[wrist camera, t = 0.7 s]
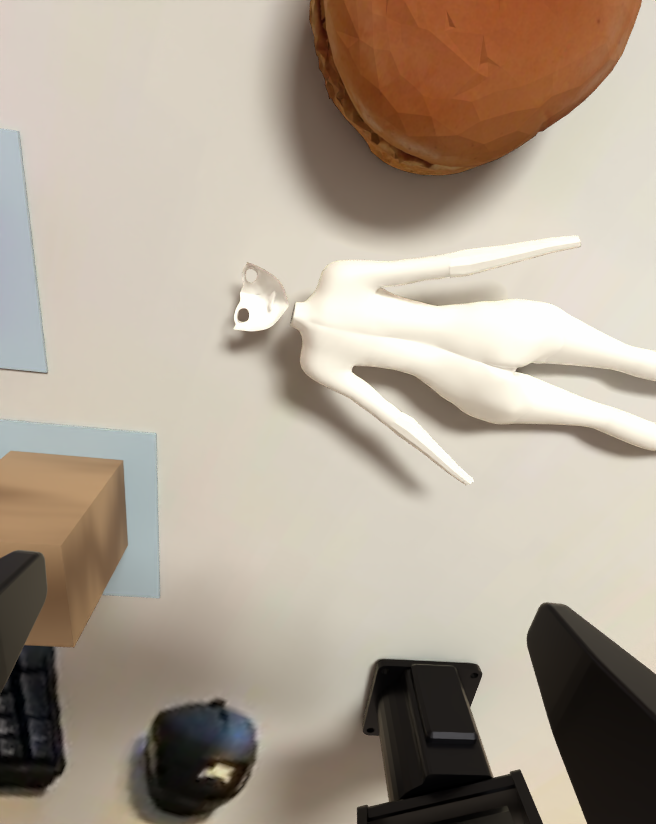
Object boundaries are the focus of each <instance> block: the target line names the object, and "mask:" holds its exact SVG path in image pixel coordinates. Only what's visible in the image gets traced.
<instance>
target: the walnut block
mask: <svg viewBox="0 0 656 824" xmlns="http://www.w3.org/2000/svg"><path fill="white" fill-rule="evenodd" d="M127 546H128V535H127V518H126V500H125V482H124V464H123V460H115V459H103V458H91V457H80V456H68V455H56V454H44V453H32V452H21V451H10V452H8V453H7V454H6V455H5V456H4V457H2V458H1V459H0V558H1V557H3V556H5V555H7V554H9V553H11V552H13V551H16V550H26V551H36V552H40V553H42V554H43V555H44V558H45V565H46V577H47V596H46V600H45V603H44V605H43V607H42V609H41V611H40V613H39V615H38V617H37V619H36V622H35V624H34V626H33V628H32V630H31V632H30V634H29V636H28V638H27V640H26V642H25V644H24V645H35V646H55V647H74V646H75V645H76V643H77V641H78V639H79V637H80V635H81V633H82V631H83V629H84V628H85V626H86V624H87V622H88V620H89V618H90V616H91V614H92V612H93V611H94V609H95V607H96V605H97V603H98V601H99V599H100V597H101V595H102V594H103V592H104V590H105V588H106V586H107V584H108V582H109V580H110V578H111V577H112V575H113V573H114V571H115V569H116V567H117V565H118V563H119V561H120V560H121V558H122V556H123V554H124V552H125V550H126V548H127Z"/></svg>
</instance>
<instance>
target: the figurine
mask: <svg viewBox="0 0 656 824" xmlns="http://www.w3.org/2000/svg"><path fill="white" fill-rule="evenodd" d="M580 246H581V243H580V238H579V237H578V236H577V235H576V236H565V237H555V238H546V239H540V240H534V241H527V242H521V243H515V244H509V245H502V246H493V247H484V248H475V249H466V250H462V251H458V252H453V253H449V254H443V255H435V256H428V257H421V258H412V259H403V260H397V261H391V262H390V261H369V260H341V261H335V262H332V263H330V264H328V265H327V266H326V267H325V268H324V270H323V271H322V274H321V276H320V279H319V282H318V286H317V288H316V290H315V292H314V293H313V294H312V295H311V296H310V297H309V298H308V299H307V300H306V301H305V302H295V305H294V309H293V313H292V318H291V323H290V326H292V327H294V328H296V329H297V330H299V331H300V334H301V337H302V342H303V344H302V350H301V355H300V364H301V368H302V369H303V371H304V372H305V373H306V375H307V376H309V377H310V378H312V379H313V380H314V381H316V382H318V383H320V384H322V385H323V386H325V387H327V388H329V389H332V390H334V391H336V392H338V393H340V394H342V395H344V396H346V397H348V398H350V399H351V400H353V401H354V402H355V403H357V404H358V405H359V406H361V407H362V408H363V409H365V410H366V411H368V412H369V413H371V414H372V415H373V416H374V417H376V418H377V419H378V420H379V421H381V422H382V423H383V424H385V425H386V426H387V427H389V428H390V429H391V430H392V431H393V432H394V433H396V434H397V435H398V436H399V437H401V438H402V439H404V440H405V441H406V442H408V443H409V444H411V445H412V446H413V447H415V448H416V449H418V450H419V451H420V452H422V453H423V454H424V455H426V456H427V457H428V458H430V459H431V460H432V461H433V462H435V463H436V464H437V465H438V466H440V467H441V468H442V469H443V470H445V471H446V472H447V473H449V474H450V475H452V476H453V477H455V478H456V479H457V480H459V481H460V482H462V483H463V484H465V485H469V484H471V483H472V482H473V481H474V479H473V478H472V477H470V476H469V475H468V474H467V473H466V472H465V471H464V470H463V469H462V468H461V467H459V466H458V465H457V464H456V463H455V461H454V460H453V459H452V458H451V457H450V456H449V455H448V454H447V453H446V452H445V451H444V450H443V449H442V448H441V447H440V446H439V445H438V444H437V443H436V442H435V441H434V440H433V438H432V437H431V436H430V435H429V434H428V433H427V432H426V431H425V430H424V429H423V428H422V427H421V426H420V425H419V424H418V423H417V422H416V421H415V420H414V419H413V418H412V417H410V416H408V415H407V414H405V413H403V412H401V411H399V410H398V409H397V408H396V407H395V406H394V405H392V404H391V403H389V402H388V401H387V400H385V399H384V398H383V397H382V396H381V395H380V394H379V393H378V392H377V391H376V390H375V389H374V388H373V387H371V386H370V385H369V384H368V383H367V382H365V381H364V380H363V379H361V378H359V377H358V376H356V375H355V374H354V373H353V372H352V368H353V366H370V367H379V368H385V369H392V370H397V371H400V372H404V373H407V374H411V375H413V376H416V377H417V378H418V379H420V380H421V381H422V382H424V383H425V384H426V385H428V386H429V387H431V388H432V389H433V390H434V391H435V392H437V393H438V394H439V395H440V396H441V397H442V398H444V399H446V400H447V401H449V402H451V403H453V404H454V405H456V406H457V407H458V408H459V409H460V410H461V411H462V412H464V413H465V414H467V415H469V416H472V417H474V418H477V419H481V420H483V421H486V422H490V423H493V424H513V423H514V424H554V425H573V426H584V427H590V428H594V429H596V430H599V431H601V432H603V433H606V434H608V435H610V436H612V437H615V438H617V439H619V440H622V441H624V442H626V443H629V444H631V445H634V446H637V447H640V448H643V449H647V450H653V451H656V423H653V422H650V421H648V420H645V419H642V418H640V417H637V416H635V415H633V414H630V413H628V412H625V411H622V410H619V409H617V408H613V407H610V406H607V405H604V404H600V403H597V402H594V401H591V400H589V399H586V398H583V397H581V396H578V395H576V394H573V393H571V392H568V391H566V390H563V389H561V388H559V387H556V386H554V385H551V384H549V383H547V382H544V381H542V380H539V379H537V378H535V377H532V376H530V375H527V374H525V373H519V372H515V371H516V369H517V368H518V367H523V366H526V365H528V364H529V363H537V364H540V363H549V364H561V365H574V366H585V367H595V368H604V369H610V370H616V371H620V372H623V373H626V374H629V375H632V376H635V377H638V378H642V379H647V380H652V381H656V351H653V350H647V349H642V348H637V347H633V346H630V345H627V344H625V343H622V342H620V341H618V340H616V339H614V338H612V337H610V336H608V335H606V334H604V333H602V332H600V331H598V330H596V329H595V328H593V327H591V326H589V325H587V324H585V323H583V322H582V321H580V320H578V319H576V318H574V317H572V316H571V315H569V314H567V313H565V312H564V311H563V310H561V309H560V308H558V307H556V306H554V305H552V304H549V303H545V302H537V301H530V300H523V299H507V300H501V301H493V302H492V301H480V302H473V303H467V304H453V305H443V306H434V305H430V304H426V303H423V302H419V301H414V300H410V299H407V298H403V297H400V296H397V295H394V294H392V293H390V292H388V291H386V290H385V289H383V288H381V287H388V286H399V285H405V284H411V283H415V282H419V281H423V280H433V279H442V278H447V277H450V278H452V277H462V276H469V275H472V274H476V273H480V272H483V271H487V270H491V269H494V268H498V267H502V266H505V265H509V264H513V263H516V262H520V261H524V260H527V259H531V258H535V257H538V256H542V255H546V254H549V253H553V252H558V251H563V250H568V249H573V248H578V247H580ZM248 269H253V270H255V271H256V272H257V278H256V280H255V281H254V282H252V283H250V282H248V281H247V279H246V277H245V274H246V271H247V270H248ZM242 280H243V287H242V289H241V292H240V303H239V304H238V306H237V308H236V310H235V314H234V321H235V323H236V326H235V327H234V329H236V330H244V331H259V330H265V329H268V328H270V327H271V326H273V325H274V324H275V323H276V322H277V321H278V320H279V318H280V317H281V316H282V314H283V313H284V312H285V310H286V309H287V308H288V306H289V303H288V299H287V296H286V293H285V290H284V287H283V285H282V284H281V282H280V281H279V280H278V279H277V278H276V277H275V276H274V275H272V274H271V273H269V272H268V271H266V270H264V269H262V268H260V267H258V266H256V265H254V264H251V263H248V262H247V264H246V265H245V266H244V268H243V272H242ZM242 308H246V309H247V310H248V312H249V319H248V320H247V321H245V322H240V321H239V320H238V312H239V310H240V309H242Z"/></svg>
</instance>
